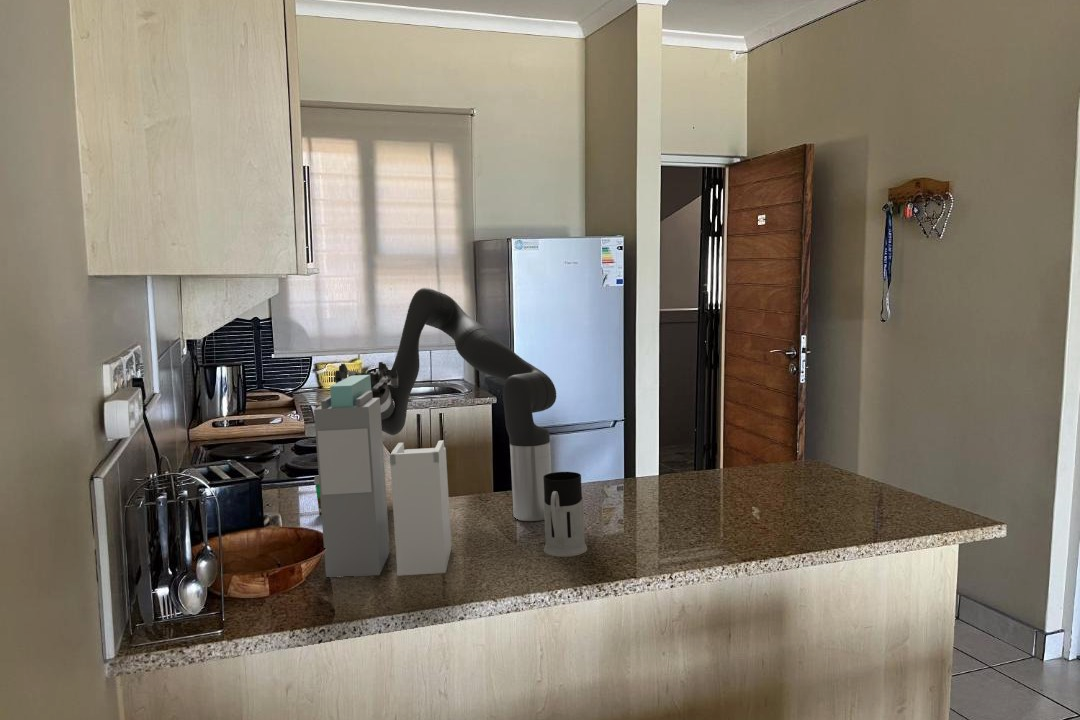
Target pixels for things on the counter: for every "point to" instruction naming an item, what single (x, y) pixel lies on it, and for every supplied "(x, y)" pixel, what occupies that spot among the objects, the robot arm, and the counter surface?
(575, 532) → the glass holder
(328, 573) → the tall grey pillar
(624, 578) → the counter surface
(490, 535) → the counter surface
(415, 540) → the white open box
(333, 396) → the teal square bar
